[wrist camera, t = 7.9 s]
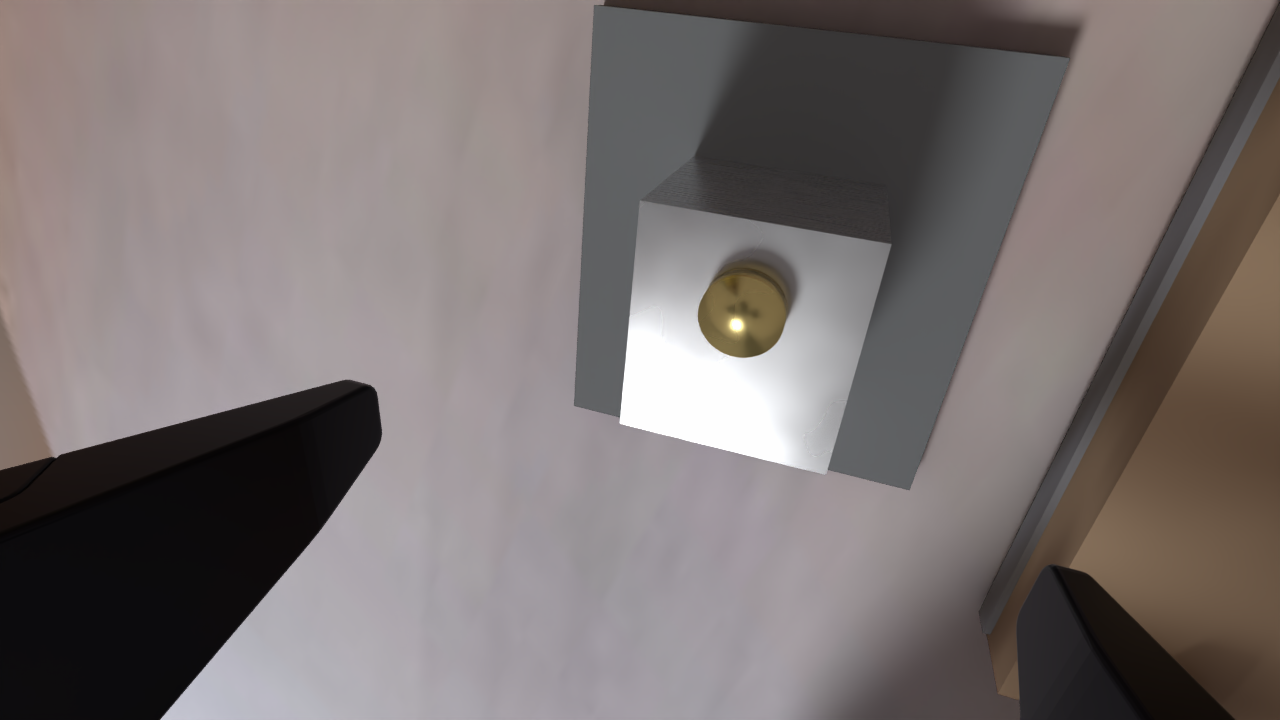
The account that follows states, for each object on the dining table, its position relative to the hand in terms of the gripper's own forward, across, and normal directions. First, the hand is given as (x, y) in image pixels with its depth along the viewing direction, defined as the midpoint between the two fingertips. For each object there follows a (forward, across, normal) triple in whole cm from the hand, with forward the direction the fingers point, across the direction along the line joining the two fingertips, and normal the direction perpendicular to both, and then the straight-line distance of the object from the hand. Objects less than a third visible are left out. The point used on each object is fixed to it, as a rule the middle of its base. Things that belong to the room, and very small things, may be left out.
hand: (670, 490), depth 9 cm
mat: (+10, 0, 0) cm, 10 cm away
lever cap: (+9, 0, 0) cm, 9 cm away
